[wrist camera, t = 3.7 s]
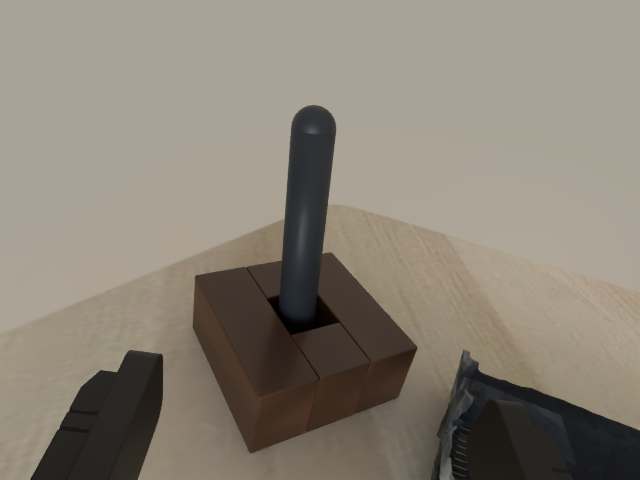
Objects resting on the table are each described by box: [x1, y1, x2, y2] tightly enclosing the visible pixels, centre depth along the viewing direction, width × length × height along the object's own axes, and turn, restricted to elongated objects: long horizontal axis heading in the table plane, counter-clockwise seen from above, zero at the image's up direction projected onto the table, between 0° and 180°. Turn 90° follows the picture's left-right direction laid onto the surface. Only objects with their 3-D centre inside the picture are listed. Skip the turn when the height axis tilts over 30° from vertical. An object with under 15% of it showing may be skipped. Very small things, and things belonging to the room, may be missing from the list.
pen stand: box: [193, 252, 417, 453], centre depth 24 cm, size 8×8×4 cm
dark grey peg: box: [278, 105, 336, 336], centre depth 22 cm, size 2×2×13 cm
